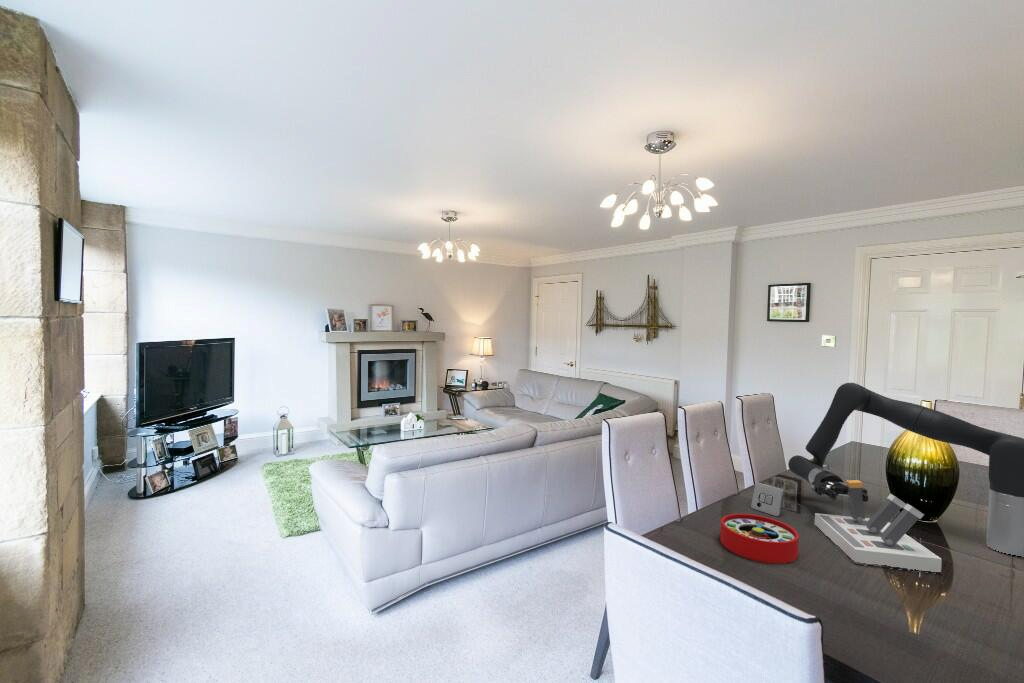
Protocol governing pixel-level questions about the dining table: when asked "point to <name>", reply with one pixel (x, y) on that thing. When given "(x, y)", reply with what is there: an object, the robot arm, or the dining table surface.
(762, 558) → the toy clock
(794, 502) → the dining table surface
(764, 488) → the electrical switch
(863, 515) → the lever
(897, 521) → the lever
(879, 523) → the breaker mid
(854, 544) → the panel
